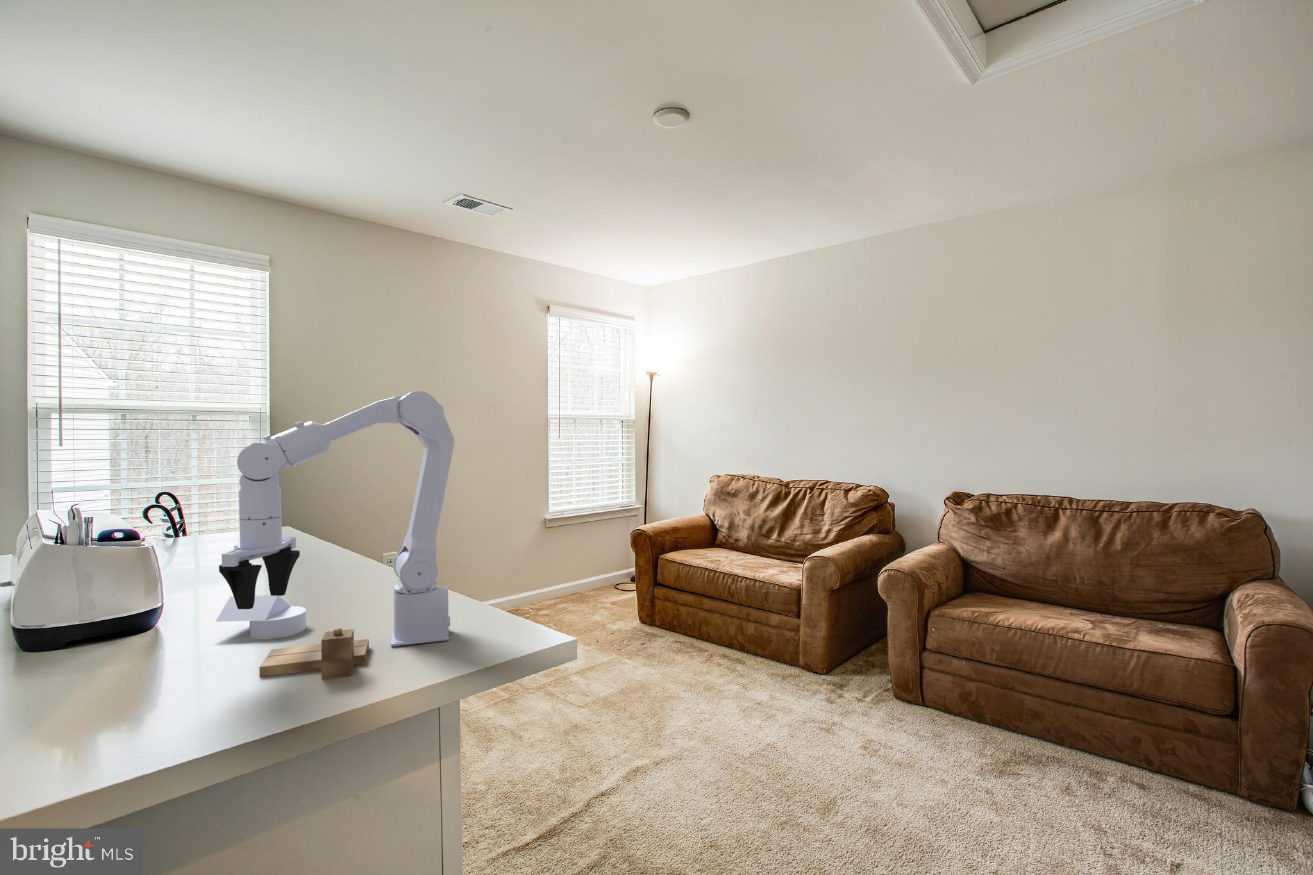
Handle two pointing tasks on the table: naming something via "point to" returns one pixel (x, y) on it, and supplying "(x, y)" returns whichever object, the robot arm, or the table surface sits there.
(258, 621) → the wedge on round base
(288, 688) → the table surface
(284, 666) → the board
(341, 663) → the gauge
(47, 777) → the table surface
